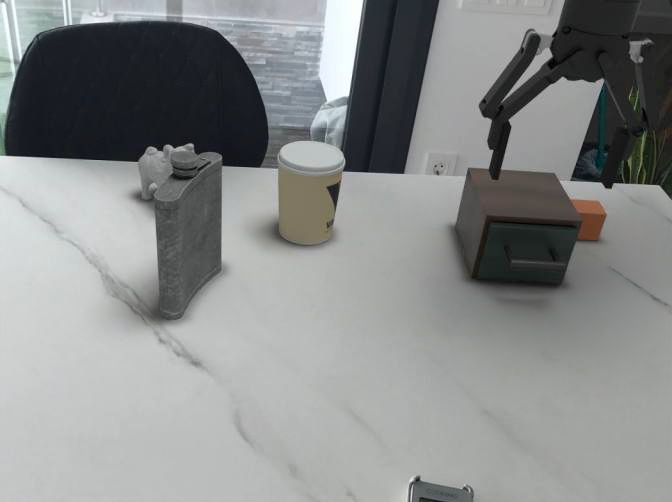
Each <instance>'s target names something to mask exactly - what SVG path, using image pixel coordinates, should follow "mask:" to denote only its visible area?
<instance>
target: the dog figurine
mask: <svg viewBox="0 0 672 502" xmlns="http://www.w3.org/2000/svg"><path fill="white" fill-rule="evenodd" d="M178 151H190V152H194V153H195V145H194V144H193V143H187V144H185V145H181V146H177V147H176V148H174V147H173V146H172V145H171V144H165V145H164V146H163V149H162V150H158V149H157V148H156V147H154V146H148V147H147V148H146V149H145V152H144V154H142V155H141V157H140V158H139V159H138V161H137V169H138V173H139V176H140V184H141V198H142V199H143V200H145V201H148V200H151V199H152V198H153V196H152V195H151V194H150V191H149V188H150V186H151V185H152V184H155V185H156V186H157V187H158V188H159V186H160V185H161V184H162V183H163V182H164V181H165V180H166V179H167V178H168V177H169V176H170V175H171V174H172V173H173V171H172V164H171V162H170V156H171V154H172V153H175V152H178Z"/></svg>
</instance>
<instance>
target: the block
mask: <svg viewBox="0 0 672 502" xmlns="http://www.w3.org/2000/svg"><path fill="white" fill-rule="evenodd" d="M570 200H571V202H572V203H573V205H574V207H575V209H576V210H577V212H578V214H579V215H580V217H581V219H582V221H583V222H582V225H581V228H580V231H579V234H578V237H577V240H581V241H582V240H584V241H599V239H600V236H601V232H602V230H603V227H604V224H605V222H606V219H607V216H608V214H607V212H606V209H604V206H602V204H601V202H600V201H599V200H592V199H591V200H589V199H576V198H575V199H574V198H570Z"/></svg>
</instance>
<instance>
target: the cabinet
mask: <svg viewBox="0 0 672 502" xmlns="http://www.w3.org/2000/svg"><path fill="white" fill-rule="evenodd" d="M466 171H467V172H466V175H465V180H464V184H463V189H462V194H461V198H460V202H459V207H458V211H457V216H456V220H455V225H454V230H455V233H456V235H457V238H458V242H459V245H460V248H461V252H462V254H463V258H464V261H465V265H466V267H467V270H468V273H469V276H470V279H472V280H485V281H486V280H487V281H488V280H489V281H504V282H505V281H506V282H522V283H537V284H538V283H539V284H553V285H554V284H556V285H562V284H563V282H564V279H565V277H566V274H567V273H566V272H567V269H568V267H569V264H570V261H571V258H572V255H573V253H574V250H575V249H574V248H575V246H576V243H577V240H578V239H577V238H576V241H575V244H574V247H573V250H572V253H571V256H570V259H569V262H568V265H567V268H566V271H565V274H564V277H563V280H562V283H556V282H539V281H522V280H505V279H488V278H478V275H477V271H478V267H479V263H480V259H481V255H482V251H483V247H484V243H485V239H486V235H487V231H488V227H489V223H490V222H491V221H501V222H517V223H534V224H550V225H567V227H576V228H577V229H578V231H580V228H581V225H582V222H583V221H582V219H581V217H580V215H579V214H578V212H577V210H576V209H575V207H574V205H573V203H572V202H571V200H570V199H571V198H570V196H569V195H568V193H567V191H566V189H565V188H564V186H563V184H562V183H561V181H560V179H559V177H558V176H557V174H556V173H555V172H548V171H547V172H546V171H530V170H513V169H501V171H500V175H499V179H498V180H492V178H491V176H490V173H489V168H483V167H467V170H466ZM578 234H579V232H578ZM577 237H578V235H577Z"/></svg>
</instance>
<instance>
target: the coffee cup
mask: <svg viewBox="0 0 672 502" xmlns="http://www.w3.org/2000/svg"><path fill="white" fill-rule="evenodd" d="M276 159H277V180H278V181H277V188H278V189H277V191H278V192H277V193H278V195H277V196H278V199H277V200H278V230H279V231H278V232H279V233H280V235H281V237H282V238H283V239H285V240H286V241H288V242H290V243H292V244H297V245H303V246H315V245H320V244H323V243H325V242H327V241H328V240H329V239H330V238H331V237H332V233H333V228H334V223H335V218H336V213H337V207H338V201H339V195H340V191H341V185H342V178H343V173H344V168H345V166H346V158H345V156H344V153H343V152H342V150H341V149H339V147H336V146H334V145H332V144H329V143H326V142H322V141H315V140H299V141H293V142H289V143H287V144H284V145H283V146H282V147H281V148H280V150H279V152H278V154H277V156H276Z"/></svg>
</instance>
